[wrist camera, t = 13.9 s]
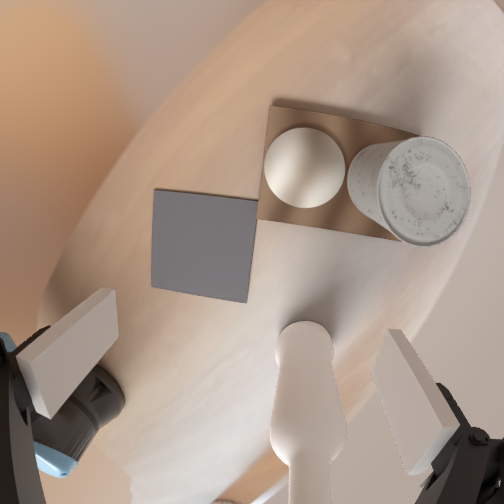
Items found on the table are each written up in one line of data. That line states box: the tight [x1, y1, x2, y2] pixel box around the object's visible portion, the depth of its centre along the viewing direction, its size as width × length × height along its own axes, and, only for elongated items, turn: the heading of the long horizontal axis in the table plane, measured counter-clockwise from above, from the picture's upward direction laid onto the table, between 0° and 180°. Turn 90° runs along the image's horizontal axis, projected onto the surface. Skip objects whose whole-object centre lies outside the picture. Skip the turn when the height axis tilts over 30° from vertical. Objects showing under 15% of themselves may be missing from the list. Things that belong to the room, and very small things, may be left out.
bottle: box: [269, 321, 348, 504], centre depth 29 cm, size 8×8×30 cm
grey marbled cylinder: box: [348, 136, 471, 247], centre depth 28 cm, size 10×10×12 cm
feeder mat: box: [151, 190, 258, 303], centre depth 40 cm, size 14×14×1 cm
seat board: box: [256, 106, 419, 242], centre depth 35 cm, size 20×14×2 cm
